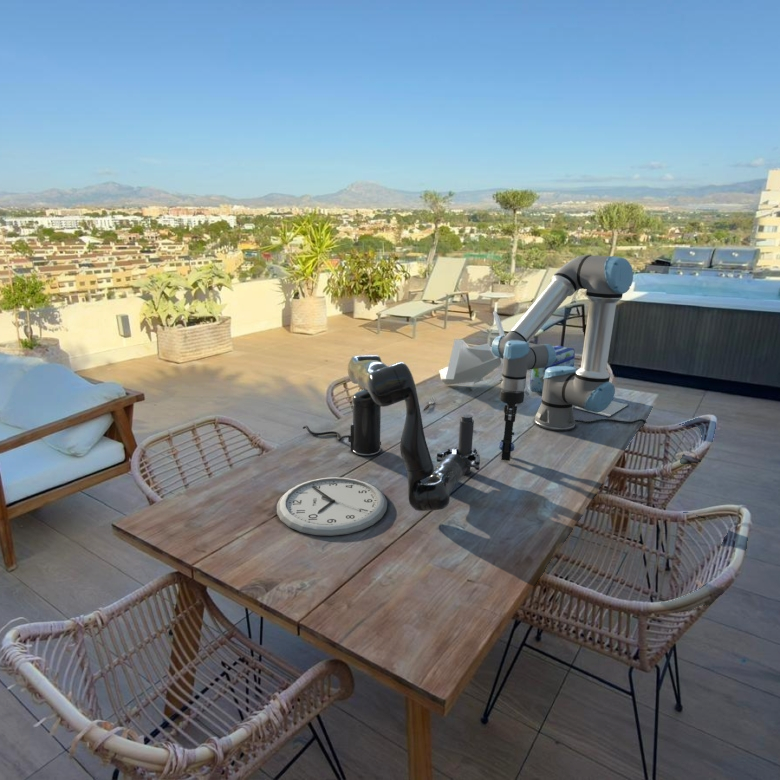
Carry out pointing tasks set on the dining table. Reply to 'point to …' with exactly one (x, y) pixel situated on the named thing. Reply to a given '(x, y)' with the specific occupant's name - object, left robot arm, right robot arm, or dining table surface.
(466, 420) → the bottle
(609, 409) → the grey flat rectangular slab
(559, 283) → the right robot arm
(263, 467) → the dining table surface
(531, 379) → the lunch box
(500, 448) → the lid
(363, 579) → the dining table surface
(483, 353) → the white plastic object
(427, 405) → the fork
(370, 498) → the wall clock
